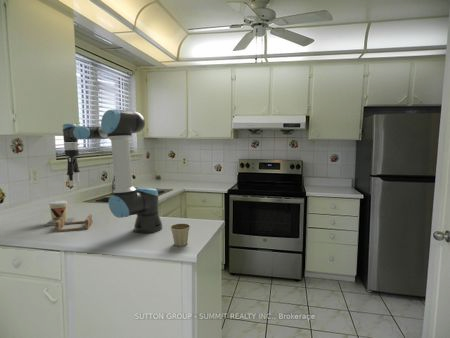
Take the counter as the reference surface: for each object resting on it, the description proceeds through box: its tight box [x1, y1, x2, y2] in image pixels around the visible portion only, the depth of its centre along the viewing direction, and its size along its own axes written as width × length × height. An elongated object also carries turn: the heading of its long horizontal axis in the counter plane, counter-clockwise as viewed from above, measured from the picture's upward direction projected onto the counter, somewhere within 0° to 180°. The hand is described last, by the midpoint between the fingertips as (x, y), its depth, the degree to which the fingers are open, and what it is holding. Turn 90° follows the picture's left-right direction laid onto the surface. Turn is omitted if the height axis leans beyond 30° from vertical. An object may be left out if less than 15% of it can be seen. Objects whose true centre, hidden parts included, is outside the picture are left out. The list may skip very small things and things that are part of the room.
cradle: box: [54, 214, 94, 233], centre depth 170 cm, size 15×16×5 cm
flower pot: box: [169, 223, 191, 247], centre depth 141 cm, size 9×9×9 cm
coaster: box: [43, 217, 75, 227], centre depth 179 cm, size 13×13×1 cm
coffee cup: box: [49, 200, 68, 223], centre depth 178 cm, size 9×9×12 cm
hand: (74, 184), depth 181 cm, fingers open, 13 cm apart
